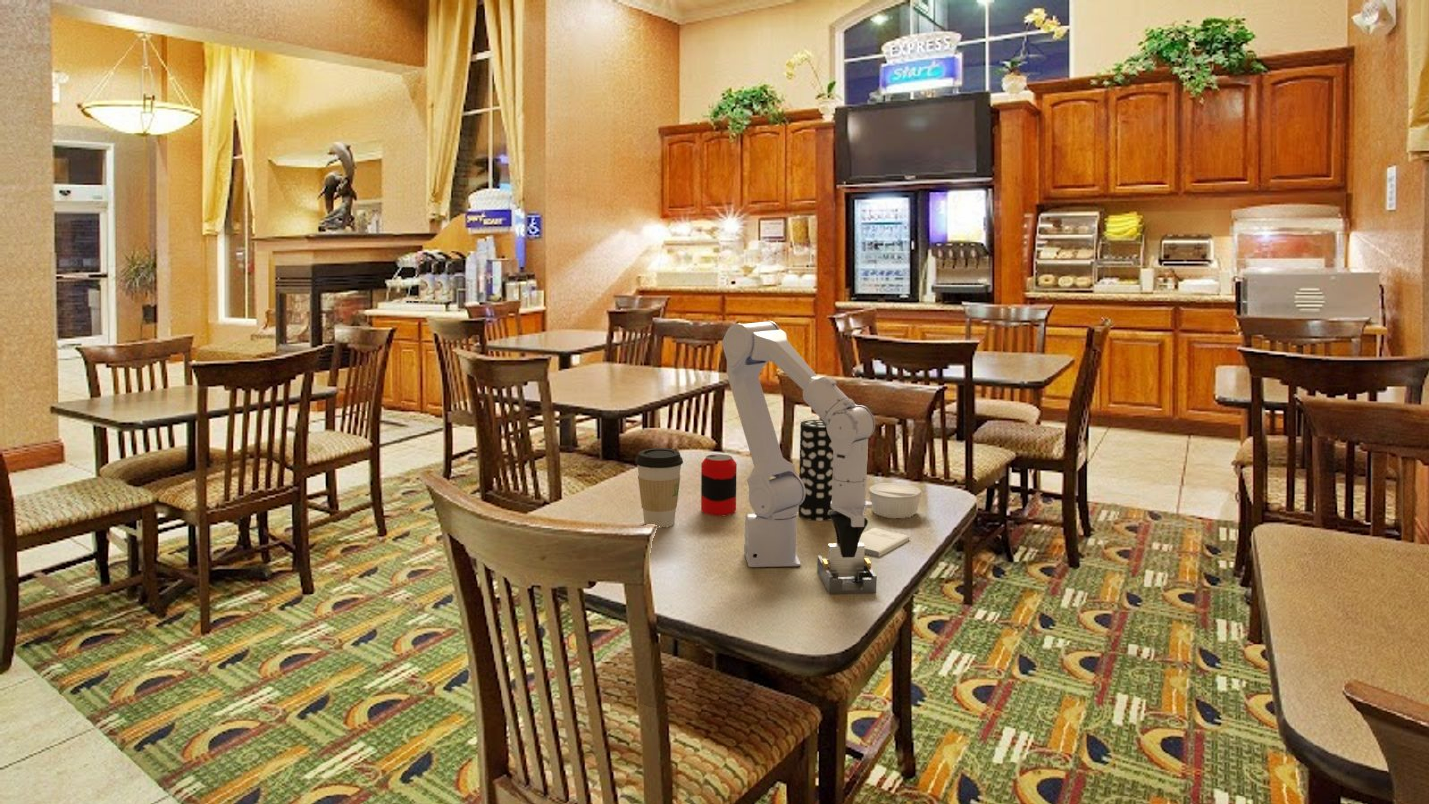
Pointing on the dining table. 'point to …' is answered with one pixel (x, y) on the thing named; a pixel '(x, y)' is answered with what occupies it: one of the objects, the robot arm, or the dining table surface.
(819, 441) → the spotted tube
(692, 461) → the dining table surface
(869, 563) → the rack
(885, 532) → the external hard drive
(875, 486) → the ramekin
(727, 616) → the dining table surface
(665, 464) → the coffee cup
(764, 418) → the robot arm
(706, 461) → the soda can
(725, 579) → the dining table surface
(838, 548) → the grey flat square block
